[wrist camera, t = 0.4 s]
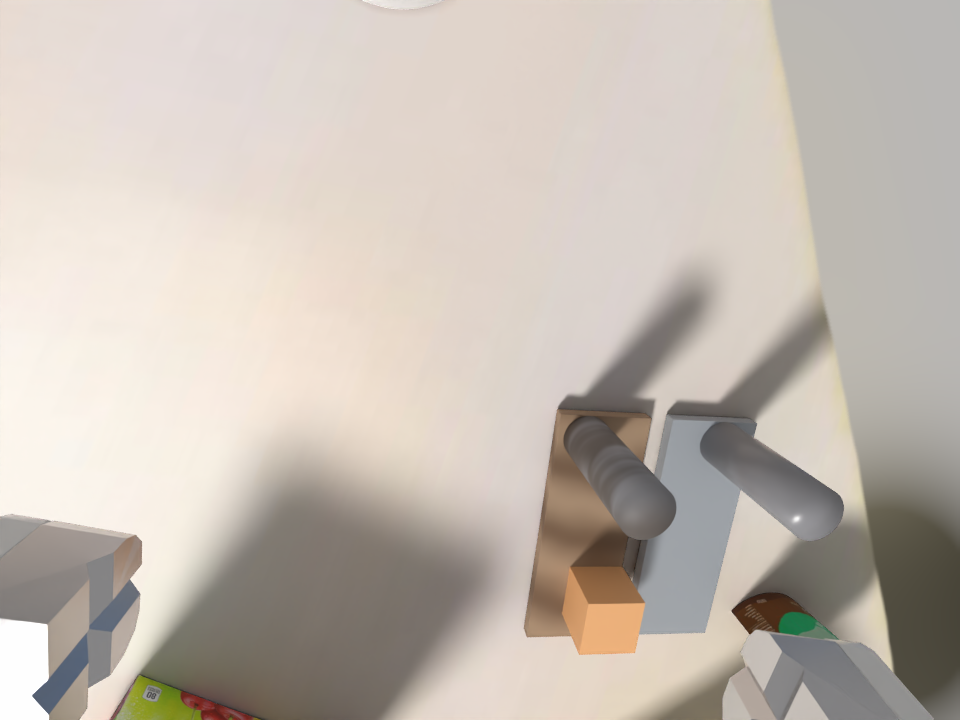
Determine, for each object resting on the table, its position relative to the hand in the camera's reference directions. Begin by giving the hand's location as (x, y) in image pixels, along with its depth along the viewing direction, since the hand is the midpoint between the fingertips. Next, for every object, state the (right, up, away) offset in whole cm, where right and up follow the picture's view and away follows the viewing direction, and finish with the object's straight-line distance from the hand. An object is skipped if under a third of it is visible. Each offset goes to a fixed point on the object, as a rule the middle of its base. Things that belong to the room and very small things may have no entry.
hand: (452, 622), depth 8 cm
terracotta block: (+11, -18, +46) cm, 50 cm away
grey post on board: (+10, -11, +45) cm, 48 cm away
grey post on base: (+19, -12, +47) cm, 52 cm away
